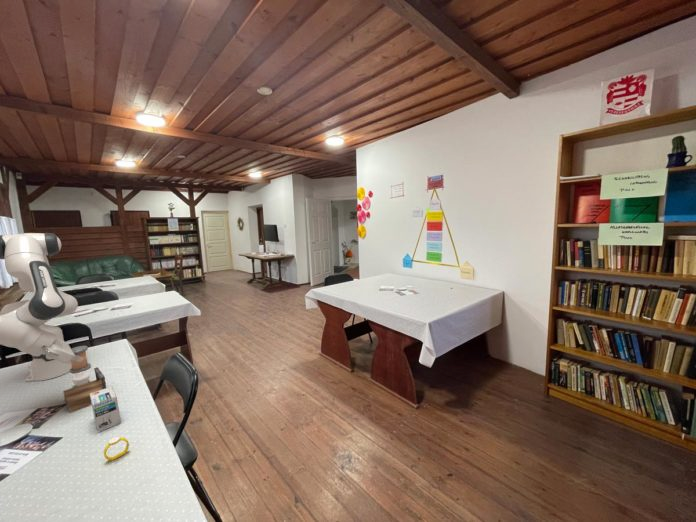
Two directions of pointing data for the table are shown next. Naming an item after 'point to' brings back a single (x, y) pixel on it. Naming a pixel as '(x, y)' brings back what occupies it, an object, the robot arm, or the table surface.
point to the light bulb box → (105, 408)
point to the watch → (112, 442)
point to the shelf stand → (84, 392)
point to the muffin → (81, 378)
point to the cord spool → (82, 365)
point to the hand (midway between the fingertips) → (80, 357)
